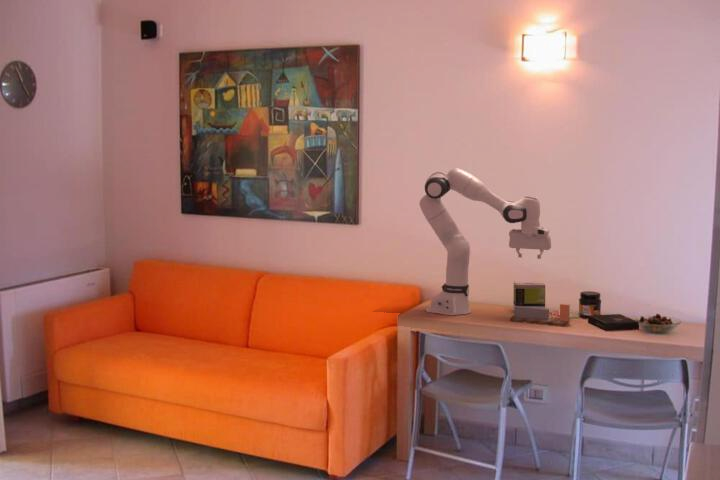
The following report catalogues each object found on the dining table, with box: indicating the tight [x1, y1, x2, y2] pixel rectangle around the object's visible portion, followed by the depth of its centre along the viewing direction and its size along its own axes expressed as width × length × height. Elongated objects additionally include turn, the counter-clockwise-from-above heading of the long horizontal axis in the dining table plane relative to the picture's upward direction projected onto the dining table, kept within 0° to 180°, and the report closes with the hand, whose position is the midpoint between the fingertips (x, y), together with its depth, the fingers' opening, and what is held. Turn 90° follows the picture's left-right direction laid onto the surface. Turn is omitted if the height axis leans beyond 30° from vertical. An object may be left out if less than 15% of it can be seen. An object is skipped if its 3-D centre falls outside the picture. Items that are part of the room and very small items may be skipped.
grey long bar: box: [514, 306, 550, 320], centre depth 374 cm, size 16×2×5 cm, turn 65°
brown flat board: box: [510, 314, 570, 327], centre depth 373 cm, size 26×10×2 cm, turn 65°
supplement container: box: [578, 290, 602, 320], centre depth 382 cm, size 10×10×12 cm
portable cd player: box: [587, 313, 640, 332], centre depth 364 cm, size 16×17×4 cm
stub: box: [559, 302, 571, 322], centre depth 367 cm, size 4×2×8 cm, turn 65°
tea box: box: [512, 281, 546, 311], centre depth 395 cm, size 15×10×15 cm, turn 84°
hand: (529, 257), depth 381 cm, fingers open, 8 cm apart
